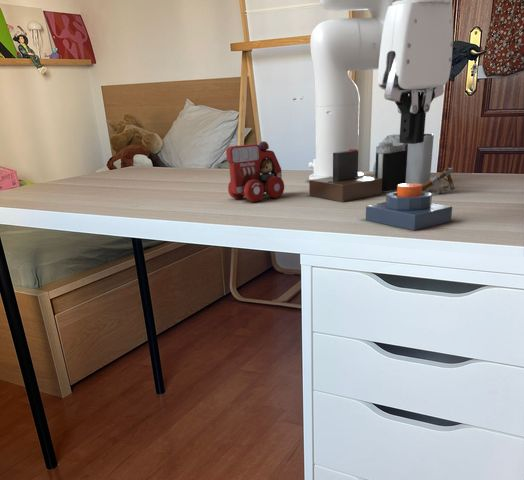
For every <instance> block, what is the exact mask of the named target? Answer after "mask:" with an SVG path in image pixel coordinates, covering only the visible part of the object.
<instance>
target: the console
mask: <svg viewBox="0 0 524 480" xmlns="http://www.w3.org/2000/svg"><path fill="white" fill-rule="evenodd" d="M308 181H309V182H308V184H309V186H308V187H309V189H308V190H309V192H308V193H309V196H310V197H316V198H321V199H326V200H331V201H336V202H340V203H341V202H342V203H344V202H349V201H354V200H359V199H365V198H370V197H375V196H380V195H382V194H383V192H382V178H375V176H365V175H364V176H363V175H362V176H359V175H358V178H353V179H347V180H341V181H335V180H333V176H329V177H326V178H320V179H313V180H309V179H308Z"/></svg>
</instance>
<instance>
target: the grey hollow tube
mask: <svg viewBox="0 0 524 480" xmlns="http://www.w3.org/2000/svg"><path fill="white" fill-rule="evenodd" d="M434 137H435V136H434V134H433V133H424V141H423V142H422V143H417V144H408V152H407V168H406V183H418V184H422V185H423V184H425V183H427V182H429V180H431V173H432V172H431V171H432V160H433V148H434ZM429 191H430V187H429V188H428V189H426V190H425V192H429Z"/></svg>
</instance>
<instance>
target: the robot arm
mask: <svg viewBox="0 0 524 480" xmlns="http://www.w3.org/2000/svg"><path fill="white" fill-rule="evenodd" d="M452 1H453V0H318V2H319V4H320V6H321V7H322V8H323V9H324V10H327V11H332V12H343V11H344V12H345V11H369V12H370V17H348V18H347V17H346V18H333V19H332V18H331V19H327V20H323V21H321V22H320V23H318V24H317V25H316V26H315V27H314V28H313V29H312V31H311V34H310V42H309V43H310V47H309V48H310V56H311V62H312V69H313V78H314V105H315V106H314V116H315V120H314V121H315V122H314V123H315V125H314V127H315V131H314V133H315V134H314V135H315V136H314V137H315V158H313V160H312V161H309V162H308V163H307V164H308V166H307V167H308V168H309V169H313V173H310V175H309V176H308V181H309V180H313V179H320V178H326V177H329V176H333V153H335V152H343V151H349V149H357V151H358V152H359V135H360V134H359V131H360V129H359V128H360V91H359V89H358V86H357V85H356V83H355V82H354V80H353V79H352V78H351V76H350V74H349V72H354V71H371V70H373V71H374V70H378V71H377V85H378V87H379V88H380V89H381V90H384V97H383V98H384V99H385V100H386V101H390V102H393V103H395V105H396V107H397V112H398V114H400V123H399V135H400V139H399V141H400V143H408V144H417V143H422V142H423V141H424V134H425V130H426V118H427V117H426V116H427V113H428V112H429V111H430V109H431V104H432V102H433V101H434V99H437V98H438V97H441V96H442V95H443V94H444V93H445V87H444V86H445V85H446V84H448V82H449V79H450V75H451V69H452V61H453V49H454V48H453V46H454V13H453V10H454V9H453V4H452ZM358 175H359V176H362V175H363V176H365V173H364V172H362V171H358Z"/></svg>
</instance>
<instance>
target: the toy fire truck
mask: <svg viewBox="0 0 524 480" xmlns="http://www.w3.org/2000/svg"><path fill="white" fill-rule="evenodd" d="M269 149H270V146H269V144H268V142H267V141H261V142H259V143H258V144H256V143H255V144H254V143H251V144H240V145H232V146H231V145H230V146H228V147H227V148H226V150H225V154H226V155H225V156H226V161H227V162H228V167H229V178H230V181H229V183H228V185H227V191H228V194H229V196H230V197H231V198H233V199H235V200H242V199H243V198H245V199H247V201H249V202H253V203H256V202H259V201H260V200H261V199H262V198H263V196H264V194H265V193H266V195H267V196H268V197H269V198H273V199H279V198H280V197H281V196H282V195H283V194H284V192H285V182H284V180H283V178H282V173H283V172H282V167H281V164H280V162H279V161H278V158H277V156H276V154H275V152H274V150H269Z"/></svg>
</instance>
